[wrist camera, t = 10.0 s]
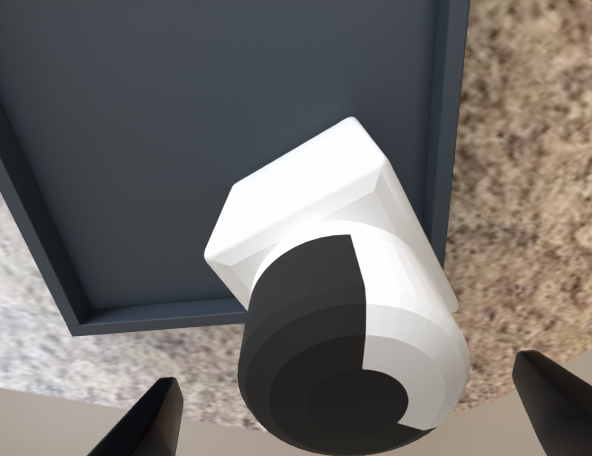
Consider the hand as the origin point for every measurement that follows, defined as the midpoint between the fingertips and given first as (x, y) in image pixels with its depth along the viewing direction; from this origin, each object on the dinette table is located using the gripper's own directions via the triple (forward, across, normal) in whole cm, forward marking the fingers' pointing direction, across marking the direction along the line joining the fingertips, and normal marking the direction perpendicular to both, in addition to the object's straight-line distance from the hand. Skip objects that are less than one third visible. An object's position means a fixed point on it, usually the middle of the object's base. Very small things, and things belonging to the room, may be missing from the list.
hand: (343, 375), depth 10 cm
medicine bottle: (+11, 0, 0) cm, 11 cm away
